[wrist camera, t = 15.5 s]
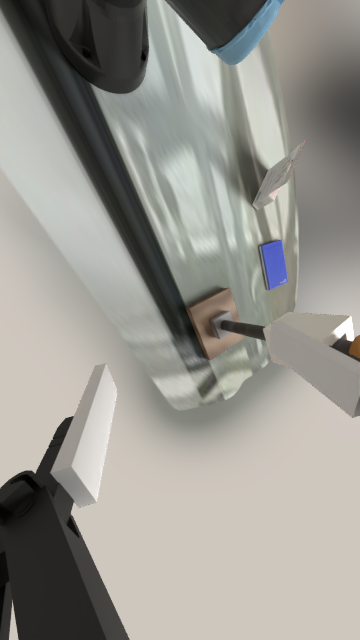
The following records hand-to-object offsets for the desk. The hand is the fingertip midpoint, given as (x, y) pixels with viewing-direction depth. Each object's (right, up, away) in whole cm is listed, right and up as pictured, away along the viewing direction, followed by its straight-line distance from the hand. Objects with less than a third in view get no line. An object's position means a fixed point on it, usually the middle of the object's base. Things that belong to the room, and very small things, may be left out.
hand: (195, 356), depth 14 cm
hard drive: (+26, +19, +38) cm, 49 cm away
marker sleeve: (+15, 0, +15) cm, 21 cm away
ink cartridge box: (+21, +37, +33) cm, 54 cm away
